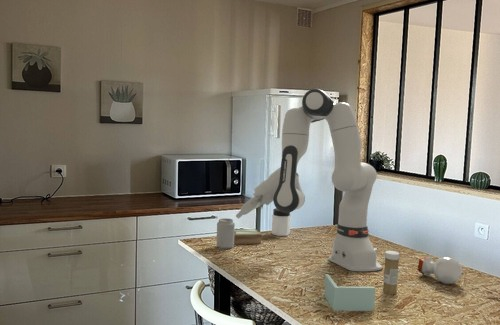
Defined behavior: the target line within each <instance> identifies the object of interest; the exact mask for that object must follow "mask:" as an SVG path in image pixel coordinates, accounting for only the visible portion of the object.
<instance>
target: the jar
mask: <svg viewBox="0 0 500 325" xmlns="http://www.w3.org/2000/svg"><path fill="white" fill-rule="evenodd" d="M272 211H273V214H272V216H271V217H272V218H271V220H272V222H271V234H272V235H273V236H276V237H285V236H286V237H288V235H290V234H291V212H290V213H283V212H281V211H279V210H278V209H277V208H276V207H274V208H273V210H272Z"/></svg>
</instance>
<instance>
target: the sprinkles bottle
mask: <svg viewBox="0 0 500 325" xmlns="http://www.w3.org/2000/svg"><path fill="white" fill-rule="evenodd" d="M384 252H385V253H384V270H383V285H382V286H383V287H382V292H383V293H384V294H388V295H396V294H397V293H398V290H397V289H398V281H399V280H398V278H399V262H400V261H399V260H400V252H398V251H397V250H396V251H395V250H385V251H384Z"/></svg>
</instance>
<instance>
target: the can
mask: <svg viewBox="0 0 500 325" xmlns="http://www.w3.org/2000/svg"><path fill="white" fill-rule="evenodd" d="M234 230H235V222H234V219H233V218H220V219H218V222H217V224H216V247H218V248H219V249H224V250H228V249H232V248H233V247H234V246H235V244H234Z"/></svg>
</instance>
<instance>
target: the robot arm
mask: <svg viewBox="0 0 500 325" xmlns="http://www.w3.org/2000/svg"><path fill="white" fill-rule="evenodd" d="M323 120H325V121H326V122H327V125H328V128H329V133H330V137H331V141H332V146H333V152H334V168H333V172H332V174H331V183H332V185H333V187H334V188H335V189H337V190H338V191H339V192H340V191H341V192H344V193H343V196H342V199H341V201H340V202H339V206H338V223H337V224H336V225H337V226H336V233H337V234H336V236H335V237H334V238H333V242H332V246H331V247H332V248H331V255H330V256H328V258H327V259H328V261H330V262H332V263H334V264H335V265H337V266H340V267H341V268H344V269H346V270H348V271H351V272H376V271H380V270H383V266H382V265H381V264H380V262H379V261H378V260H377V254H378V249H377V248H376V247H374V245H373V243H372V242H371V240H370V238H369V234H370V233H369V232H370V231H369V228H368V225H367V224H368V223H367V221H368V209H369V203H370V199H371V195H372V191H373V187H374V184H375V182H376V180H377V177H378V176H377V175H378V174H377V170H376V169H375V168H374V166H372V165H371V164H370V163H366V162H361V152H362V151H361V150H362V147H363V143H362V139H361V138H362V137H361V134H360V130H359V127H358V121H357V119H356V116H355V113H354V111H353V108H352V106H351V104H349V103H347V102H344V101H342V102H341V101H339V102H334V100H333V99H332V98H331V97H330V96H329V94H328V93H326V92H325V91H324V90H322V89H319V88H312V89H309V90H307V91H306V92H305V93H304V95H303V97H302V101H301V106H300V107H293V108H289V109H287V111H286V113H285V114H284V119H283V122H282V123H283V124H282V131H281V162H280V167H278V168H277V169H276V170H274V171H273V172H272V173H271V174H269V176H268V178H266V179H265V180H263V181H262V182H261V183H260V184H258V185H257V186H256V187H255V188H253V190H254V193H253V194H252V197H251V198H250V199H248V201H246V202H245V203H243V205H242V206H240V211H239V212H237V214H236V215H235V217H236V218H237V219H240V218H241V217H243V216H245V215H247V214H249V213H251V212H252V211H255V209H257V208H259V207H260V206H265V205H267V206H269V205H270V204H271V203H272V202H273V205H274V208H277V209H278V210H279V211H281V212H283V213H290V214H291V213H293V212H294V211H296V210H300V209H301V208H302V207H303V206H304V204H305V201H306V196H305V194H304V192H303V191H304V190H302V187H301V183H300V180H299V178H300V177H299V173H298V172H297V169H298V164H299V162H300V160H301V158H302V157H303V156H304V155H305V154H306V153H307V152H308V151H307V150H308V146H309V139H310V127H311V123H312V124H313V123H315V122H316V123H317V122H321V121H323Z"/></svg>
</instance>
